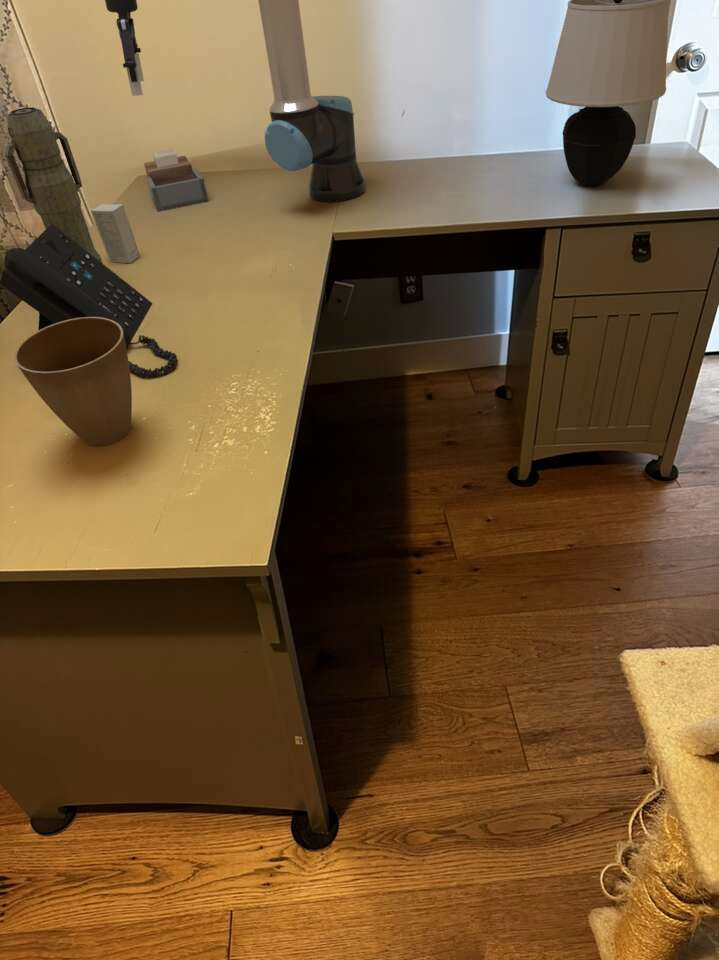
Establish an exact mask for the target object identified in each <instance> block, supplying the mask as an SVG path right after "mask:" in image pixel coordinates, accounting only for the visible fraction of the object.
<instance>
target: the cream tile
mask: <svg viewBox="0 0 719 960" xmlns="http://www.w3.org/2000/svg"><path fill="white" fill-rule="evenodd" d="M151 154H152V157H153V161H155V164H156V165H157V167H163V166H168V165H173V164H179V163H178V159H177V157H178V156H177V153H176V151H175V150H174V149H173V148H171V149H166V150H160V151H155V152H152V153H151Z"/></svg>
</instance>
